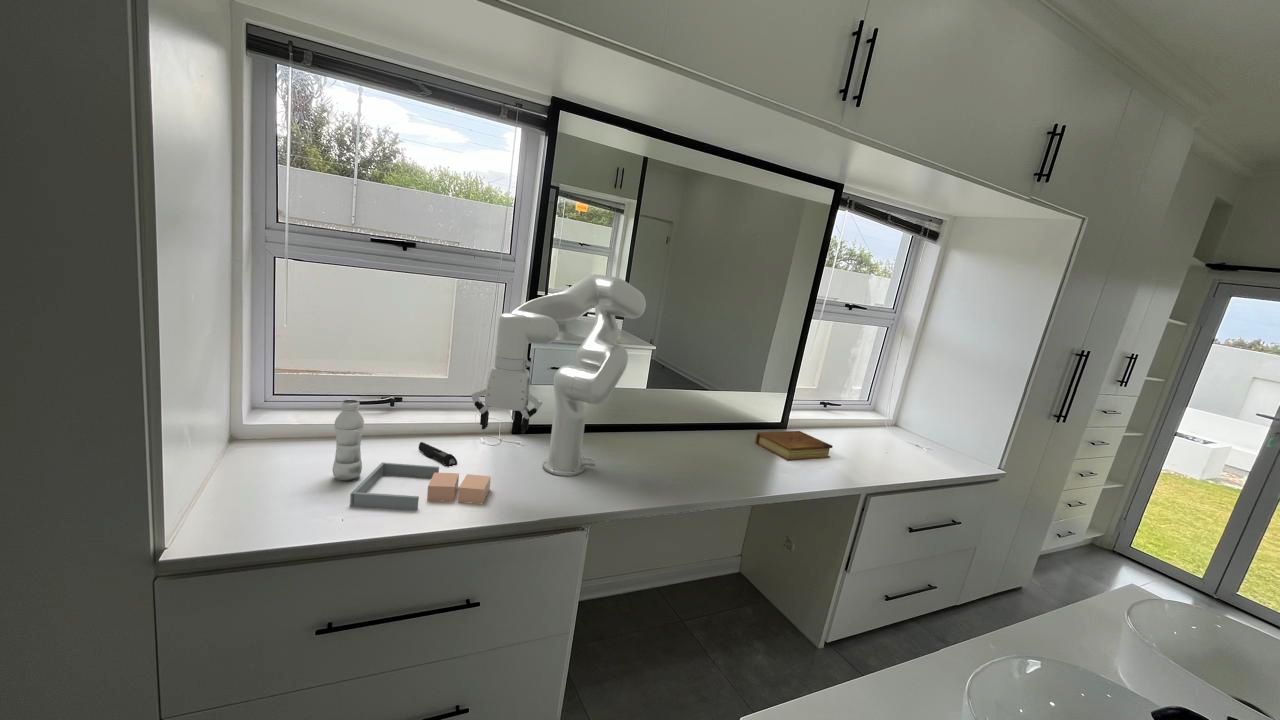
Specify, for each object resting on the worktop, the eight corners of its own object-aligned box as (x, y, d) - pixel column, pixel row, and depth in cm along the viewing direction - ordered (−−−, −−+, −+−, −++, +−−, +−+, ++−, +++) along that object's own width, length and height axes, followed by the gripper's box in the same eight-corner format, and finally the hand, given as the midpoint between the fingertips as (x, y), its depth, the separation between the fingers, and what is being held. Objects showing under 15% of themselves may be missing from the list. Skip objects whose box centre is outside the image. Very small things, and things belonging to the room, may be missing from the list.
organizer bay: (438, 477, 131) (439, 466, 130) (416, 509, 113) (417, 497, 112) (381, 473, 128) (381, 462, 128) (349, 505, 111) (350, 493, 110)
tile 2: (489, 490, 128) (490, 476, 127) (482, 504, 120) (484, 489, 119) (465, 488, 127) (467, 474, 126) (457, 502, 119) (458, 487, 118)
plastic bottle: (330, 484, 119) (333, 405, 116) (333, 473, 125) (336, 397, 122) (361, 482, 122) (365, 405, 119) (362, 471, 128) (365, 398, 125)
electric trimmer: (426, 450, 149) (427, 440, 148) (458, 465, 141) (459, 454, 140) (414, 452, 146) (415, 442, 145) (446, 468, 137) (447, 457, 137)
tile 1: (457, 487, 127) (459, 473, 126) (453, 502, 119) (454, 486, 118) (433, 487, 125) (434, 472, 125) (426, 501, 118) (428, 486, 117)
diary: (795, 443, 211) (798, 430, 210) (829, 459, 195) (832, 445, 194) (754, 444, 200) (757, 431, 199) (787, 462, 184) (790, 447, 183)
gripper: (547, 365, 125) (540, 429, 127) (479, 356, 123) (473, 421, 126) (543, 371, 117) (536, 439, 120) (470, 361, 116) (464, 430, 119)
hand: (503, 430), depth 123 cm, fingers open, 9 cm apart
